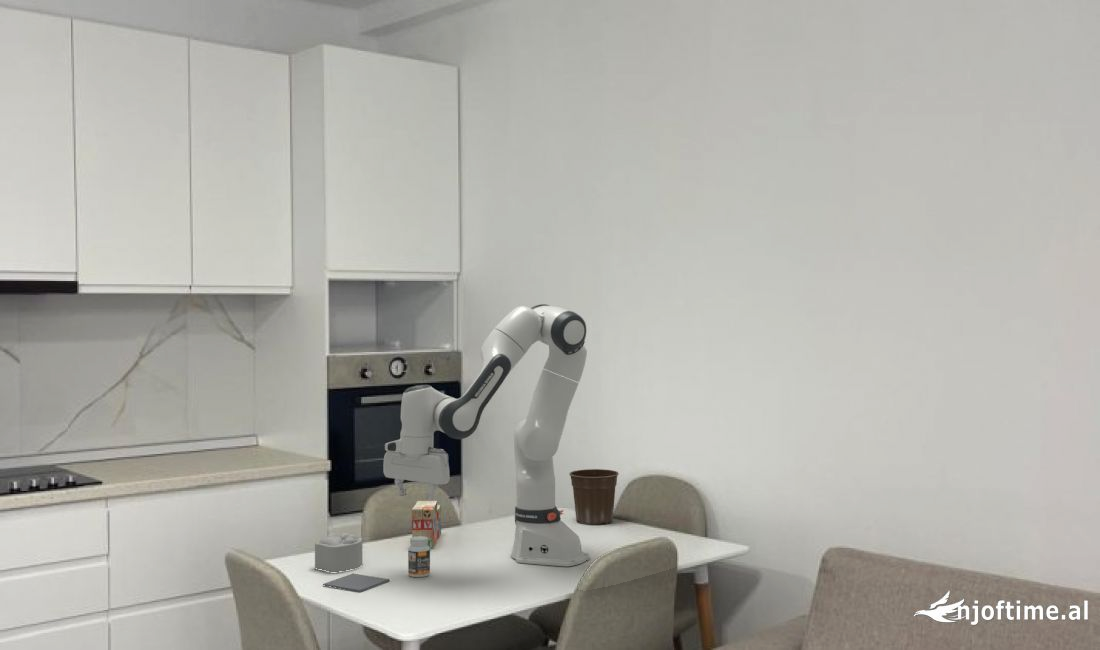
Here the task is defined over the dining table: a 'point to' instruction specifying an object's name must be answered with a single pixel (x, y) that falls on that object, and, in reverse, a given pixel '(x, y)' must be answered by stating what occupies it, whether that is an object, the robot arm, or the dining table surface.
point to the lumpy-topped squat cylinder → (338, 552)
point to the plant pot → (594, 495)
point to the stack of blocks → (427, 521)
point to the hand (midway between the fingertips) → (415, 497)
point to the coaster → (356, 582)
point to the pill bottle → (419, 557)
